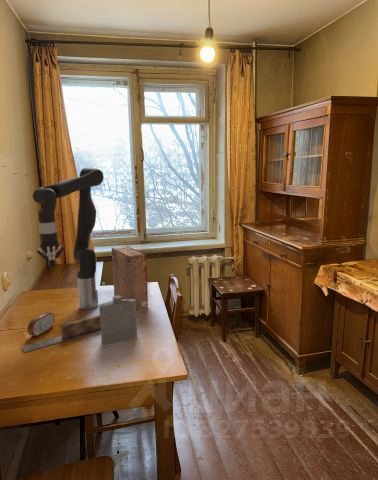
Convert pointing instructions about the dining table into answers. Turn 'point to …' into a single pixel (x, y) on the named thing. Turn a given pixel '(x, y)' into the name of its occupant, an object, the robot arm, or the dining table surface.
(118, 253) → the book
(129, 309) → the hip flask
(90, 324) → the brown wooden block
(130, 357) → the dining table surface
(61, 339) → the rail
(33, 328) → the tin
